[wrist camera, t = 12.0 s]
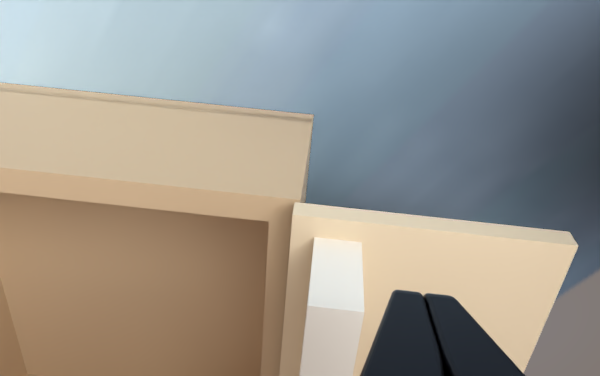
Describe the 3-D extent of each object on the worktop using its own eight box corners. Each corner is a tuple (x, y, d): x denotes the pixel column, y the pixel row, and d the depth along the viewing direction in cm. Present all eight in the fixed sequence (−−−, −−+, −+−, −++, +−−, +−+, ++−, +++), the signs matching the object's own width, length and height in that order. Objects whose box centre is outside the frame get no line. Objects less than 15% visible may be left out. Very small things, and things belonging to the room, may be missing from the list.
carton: (313, 114, 19) (300, 200, 14) (286, 401, 27) (271, 524, 22) (-60, 76, 19) (-211, 145, 14) (23, 369, 27) (-53, 482, 22)
